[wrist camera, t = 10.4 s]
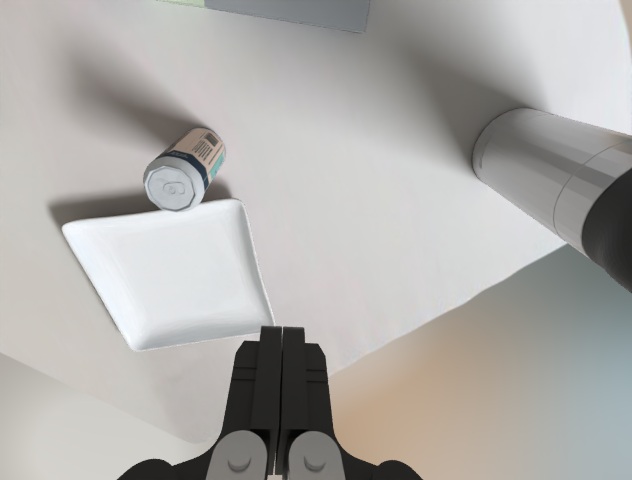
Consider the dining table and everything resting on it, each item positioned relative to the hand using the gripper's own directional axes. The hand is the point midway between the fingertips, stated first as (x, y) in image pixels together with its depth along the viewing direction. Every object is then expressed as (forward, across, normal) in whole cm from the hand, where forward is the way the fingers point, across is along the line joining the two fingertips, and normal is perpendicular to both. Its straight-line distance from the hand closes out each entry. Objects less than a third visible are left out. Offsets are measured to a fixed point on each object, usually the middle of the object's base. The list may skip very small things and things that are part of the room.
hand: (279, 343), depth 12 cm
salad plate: (+30, +12, +19) cm, 37 cm away
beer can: (+29, +9, +2) cm, 31 cm away
